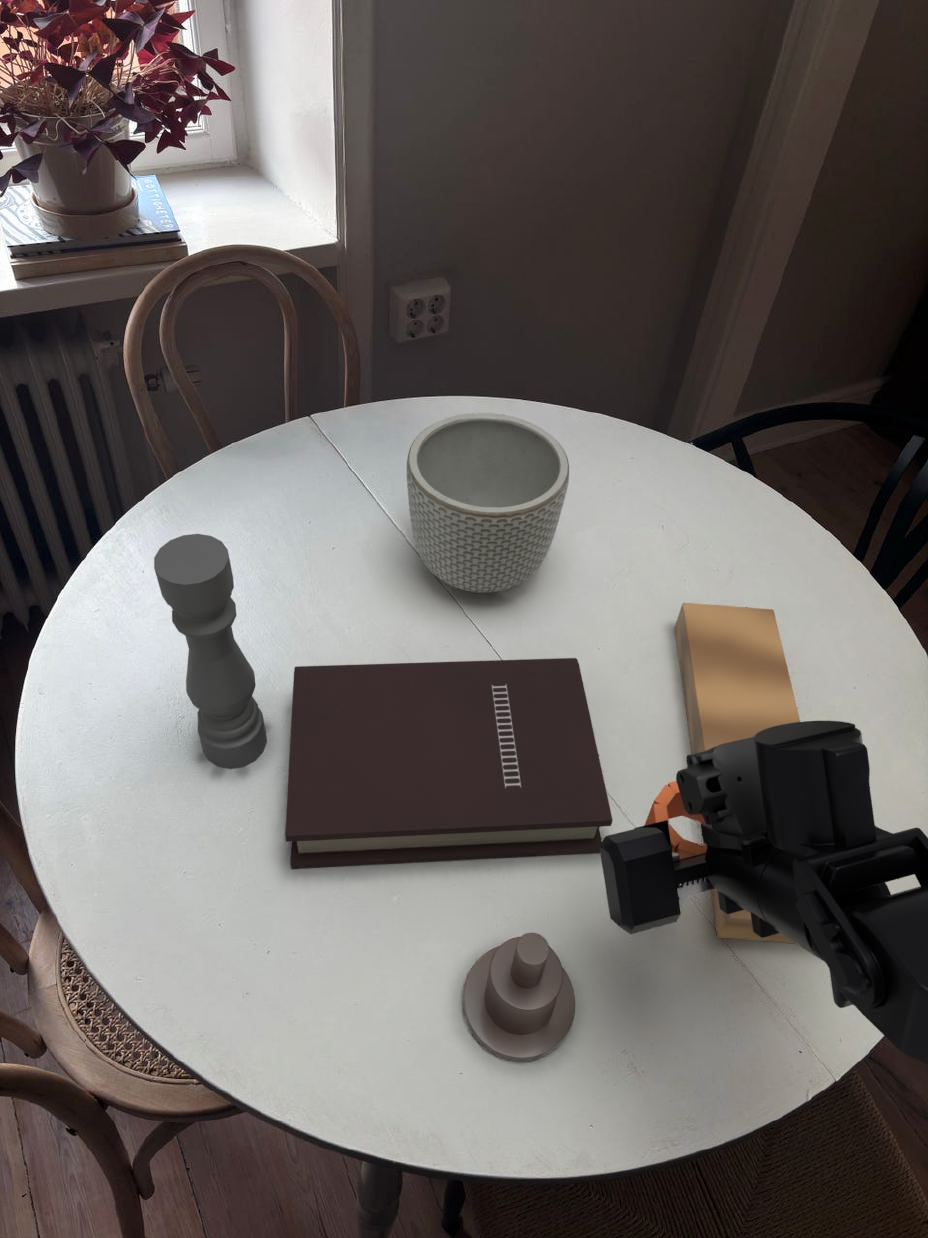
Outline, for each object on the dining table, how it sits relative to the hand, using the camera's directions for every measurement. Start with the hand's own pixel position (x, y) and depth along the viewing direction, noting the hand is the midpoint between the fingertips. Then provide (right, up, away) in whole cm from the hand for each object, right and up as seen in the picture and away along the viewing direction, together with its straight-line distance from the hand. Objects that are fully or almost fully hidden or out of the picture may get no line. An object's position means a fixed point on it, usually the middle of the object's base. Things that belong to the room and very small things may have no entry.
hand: (680, 823), depth 70 cm
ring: (0, -1, 0) cm, 1 cm away
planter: (-15, +22, +37) cm, 46 cm away
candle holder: (-39, +4, +19) cm, 44 cm away
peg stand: (-12, -15, +4) cm, 20 cm away
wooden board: (+11, +1, +20) cm, 23 cm away
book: (-19, +1, +18) cm, 26 cm away
